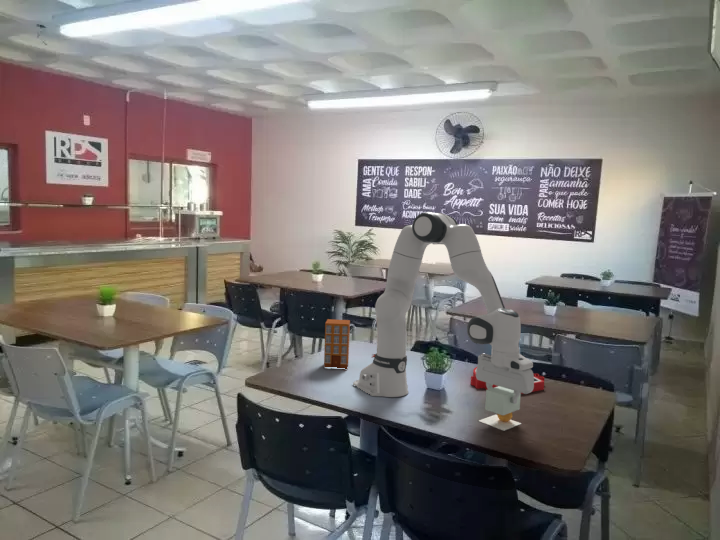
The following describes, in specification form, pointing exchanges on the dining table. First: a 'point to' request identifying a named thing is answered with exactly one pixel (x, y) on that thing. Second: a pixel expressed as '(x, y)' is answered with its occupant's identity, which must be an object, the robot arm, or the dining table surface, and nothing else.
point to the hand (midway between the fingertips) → (502, 399)
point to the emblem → (480, 384)
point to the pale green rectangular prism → (501, 400)
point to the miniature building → (336, 343)
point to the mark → (499, 423)
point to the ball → (505, 417)
